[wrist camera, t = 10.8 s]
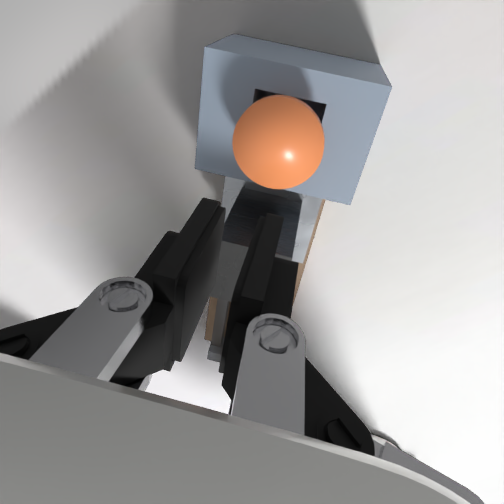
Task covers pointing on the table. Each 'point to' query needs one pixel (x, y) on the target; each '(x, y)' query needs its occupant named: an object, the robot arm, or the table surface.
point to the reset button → (278, 142)
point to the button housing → (301, 87)
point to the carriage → (246, 218)
